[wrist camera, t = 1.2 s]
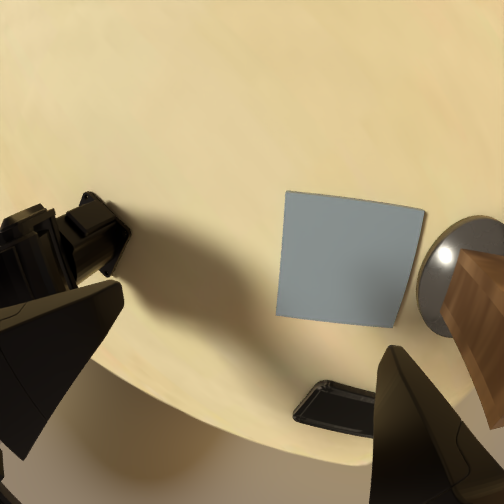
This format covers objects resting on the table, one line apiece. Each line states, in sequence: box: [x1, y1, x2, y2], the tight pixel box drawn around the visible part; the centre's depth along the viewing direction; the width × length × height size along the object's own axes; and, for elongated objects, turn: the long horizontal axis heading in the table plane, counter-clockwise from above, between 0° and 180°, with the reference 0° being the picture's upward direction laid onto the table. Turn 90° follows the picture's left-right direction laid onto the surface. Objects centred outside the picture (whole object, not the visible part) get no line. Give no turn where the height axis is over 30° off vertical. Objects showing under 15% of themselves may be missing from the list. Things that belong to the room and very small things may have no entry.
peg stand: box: [416, 215, 504, 338], centre depth 16 cm, size 11×11×4 cm
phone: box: [293, 380, 376, 438], centre depth 26 cm, size 8×1×15 cm
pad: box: [276, 191, 425, 328], centre depth 20 cm, size 10×10×1 cm
